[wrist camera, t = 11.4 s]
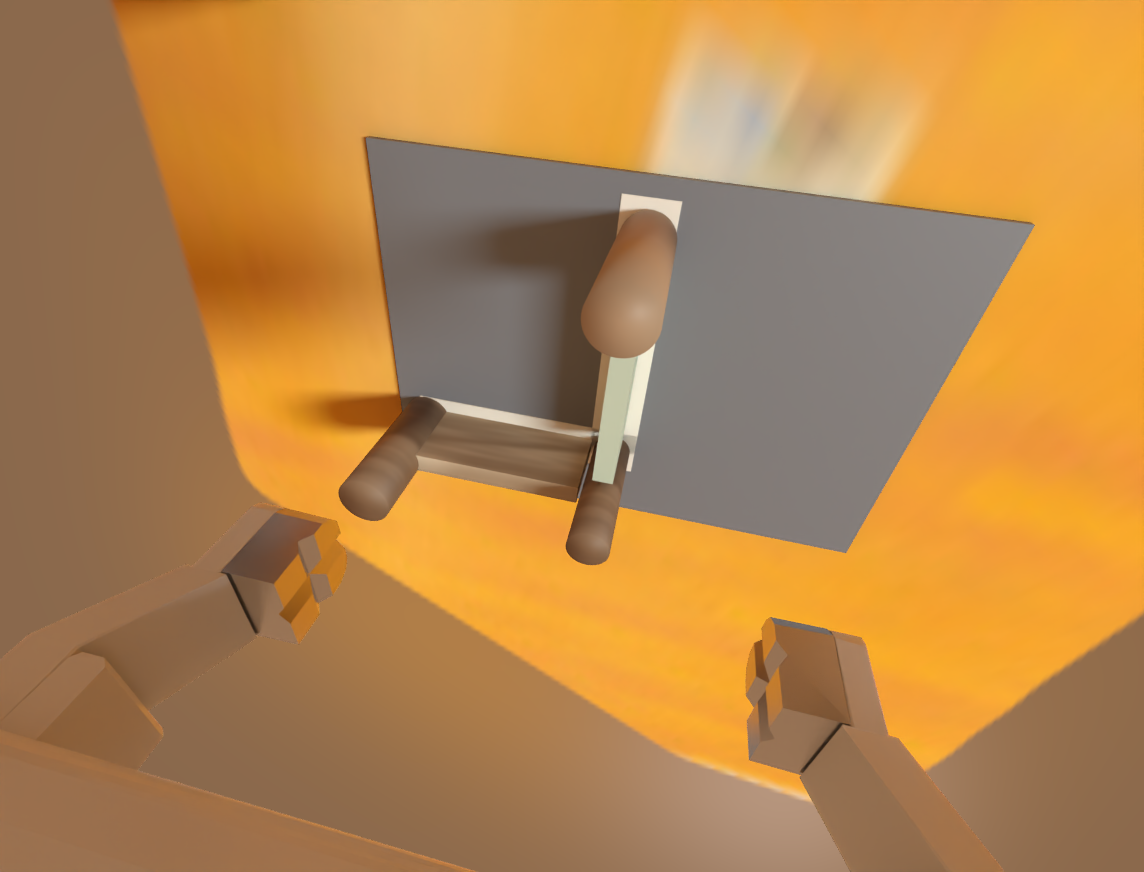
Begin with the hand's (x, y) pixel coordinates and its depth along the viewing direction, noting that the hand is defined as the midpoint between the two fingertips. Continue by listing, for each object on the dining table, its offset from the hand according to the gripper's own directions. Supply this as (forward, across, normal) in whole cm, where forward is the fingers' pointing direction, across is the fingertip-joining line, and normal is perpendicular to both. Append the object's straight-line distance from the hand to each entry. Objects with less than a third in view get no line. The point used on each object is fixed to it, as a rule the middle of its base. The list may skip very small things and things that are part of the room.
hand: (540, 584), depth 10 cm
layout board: (+23, -1, +8) cm, 24 cm away
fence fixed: (+22, +7, +14) cm, 27 cm away
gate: (+22, 0, +6) cm, 23 cm away
